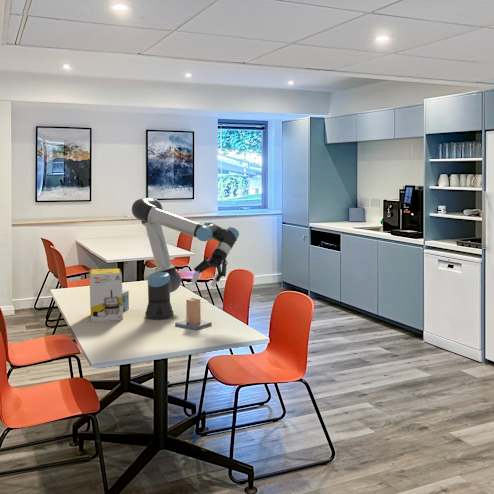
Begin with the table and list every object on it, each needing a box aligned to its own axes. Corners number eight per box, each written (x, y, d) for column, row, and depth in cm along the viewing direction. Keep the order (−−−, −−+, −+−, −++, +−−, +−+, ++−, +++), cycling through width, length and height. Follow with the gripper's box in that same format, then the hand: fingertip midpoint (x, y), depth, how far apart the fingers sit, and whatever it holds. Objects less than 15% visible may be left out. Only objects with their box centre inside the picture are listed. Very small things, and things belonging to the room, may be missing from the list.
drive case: (186, 322, 307) (186, 299, 305) (193, 320, 311) (192, 298, 309) (193, 324, 304) (193, 300, 302) (200, 322, 308) (200, 299, 306)
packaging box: (91, 321, 316) (89, 274, 313) (90, 314, 331) (89, 269, 328) (122, 319, 320) (121, 273, 317) (120, 312, 336) (119, 268, 333)
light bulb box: (121, 313, 335) (121, 293, 334) (110, 312, 337) (110, 293, 336) (129, 308, 346) (128, 290, 345) (118, 308, 347) (117, 289, 346)
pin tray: (175, 325, 307) (175, 316, 306) (191, 321, 316) (190, 311, 316) (196, 330, 299) (196, 320, 298) (211, 325, 308) (211, 315, 308)
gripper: (242, 259, 317) (224, 291, 307) (206, 254, 332) (188, 285, 322) (236, 250, 312) (217, 282, 302) (200, 246, 327) (181, 276, 317)
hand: (202, 284), depth 312 cm, fingers open, 13 cm apart
